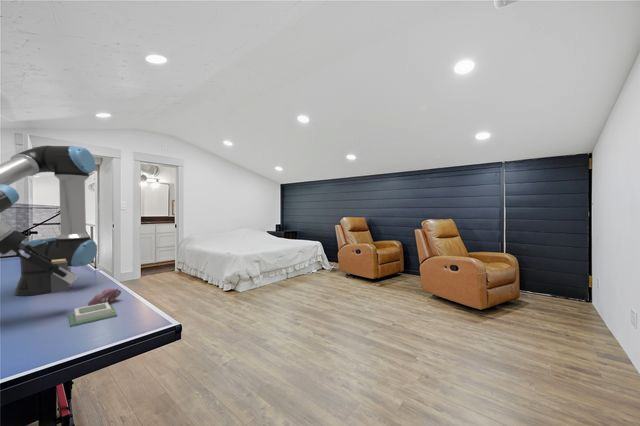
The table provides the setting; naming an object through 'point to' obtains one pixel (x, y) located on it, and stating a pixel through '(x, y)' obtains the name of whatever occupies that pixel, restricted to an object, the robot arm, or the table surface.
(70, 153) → the robot arm
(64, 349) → the table surface
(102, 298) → the video game controller
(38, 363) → the table surface
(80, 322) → the green square tray
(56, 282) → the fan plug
